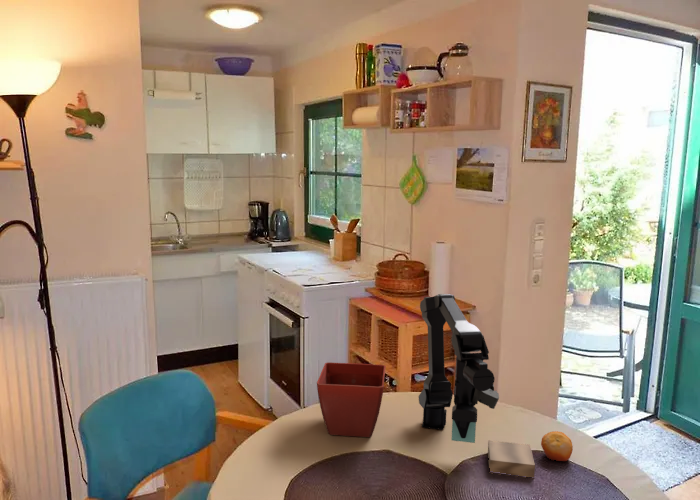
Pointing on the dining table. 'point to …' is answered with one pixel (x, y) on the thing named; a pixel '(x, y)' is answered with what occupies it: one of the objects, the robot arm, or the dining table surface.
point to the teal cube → (469, 437)
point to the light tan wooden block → (511, 458)
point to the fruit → (557, 446)
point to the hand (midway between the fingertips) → (463, 432)
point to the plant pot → (351, 397)
